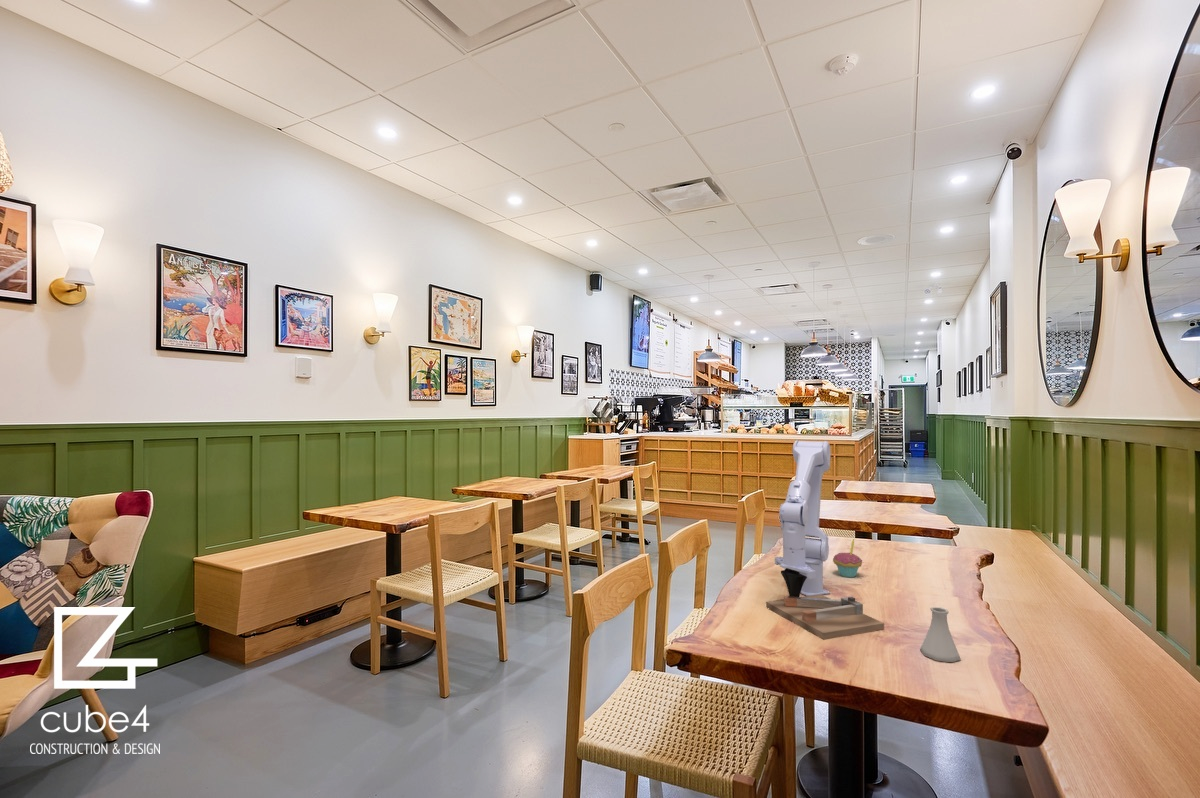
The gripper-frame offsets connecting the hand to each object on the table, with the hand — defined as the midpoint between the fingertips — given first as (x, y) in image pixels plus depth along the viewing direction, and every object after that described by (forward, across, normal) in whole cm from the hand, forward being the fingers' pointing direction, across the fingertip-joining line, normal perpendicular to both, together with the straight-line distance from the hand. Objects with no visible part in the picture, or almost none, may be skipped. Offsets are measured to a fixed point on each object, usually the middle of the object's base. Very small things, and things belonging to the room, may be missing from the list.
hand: (794, 598), depth 149 cm
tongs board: (+3, +8, +2) cm, 9 cm away
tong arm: (+1, +5, +2) cm, 5 cm away
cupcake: (+3, -19, +35) cm, 40 cm away
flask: (+3, +34, +11) cm, 36 cm away
